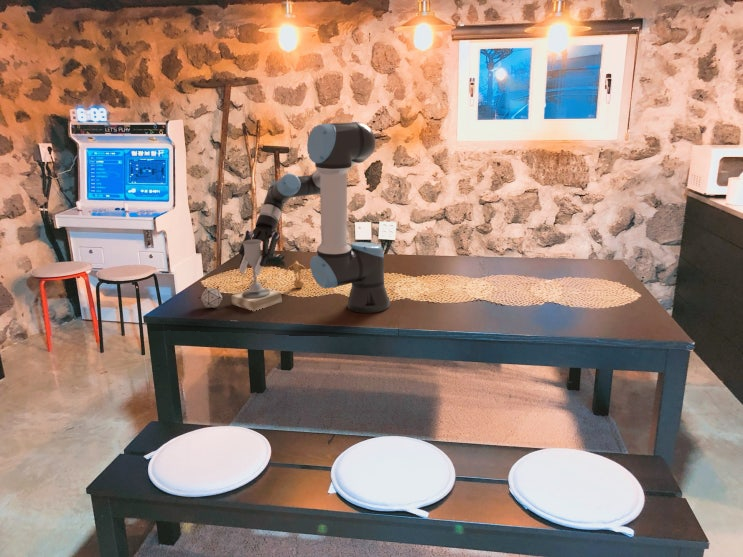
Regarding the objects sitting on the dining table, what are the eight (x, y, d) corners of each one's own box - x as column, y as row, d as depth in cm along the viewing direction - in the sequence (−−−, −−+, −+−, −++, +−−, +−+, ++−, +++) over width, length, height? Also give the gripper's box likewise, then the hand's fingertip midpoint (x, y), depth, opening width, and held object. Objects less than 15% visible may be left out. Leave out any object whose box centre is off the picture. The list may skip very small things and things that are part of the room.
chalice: (261, 292, 215) (256, 244, 210) (243, 291, 217) (238, 243, 212) (268, 286, 222) (264, 239, 217) (251, 285, 224) (246, 239, 218)
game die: (214, 319, 217) (207, 304, 208) (198, 308, 220) (190, 292, 212) (231, 302, 221) (225, 287, 212) (215, 291, 224) (208, 276, 216)
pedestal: (281, 301, 222) (281, 291, 221) (254, 311, 212) (253, 300, 211) (259, 295, 230) (258, 285, 229) (232, 304, 221) (231, 294, 219)
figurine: (310, 286, 239) (308, 257, 235) (307, 291, 233) (306, 261, 230) (289, 286, 239) (287, 258, 236) (287, 291, 234) (284, 262, 230)
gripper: (294, 225, 224) (276, 279, 214) (251, 223, 230) (231, 275, 221) (286, 214, 218) (267, 269, 208) (242, 212, 224) (221, 265, 214)
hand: (248, 272), depth 214 cm, fingers closed on chalice, 6 cm apart
